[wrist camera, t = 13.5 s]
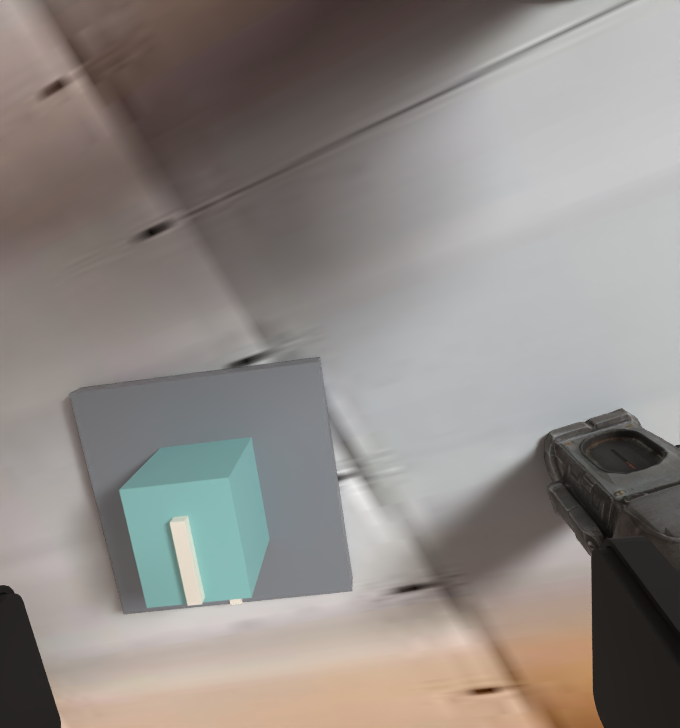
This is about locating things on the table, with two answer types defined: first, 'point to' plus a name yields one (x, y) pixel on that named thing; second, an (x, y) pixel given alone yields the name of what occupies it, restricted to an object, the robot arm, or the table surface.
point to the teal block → (197, 523)
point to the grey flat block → (217, 423)
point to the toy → (616, 482)
